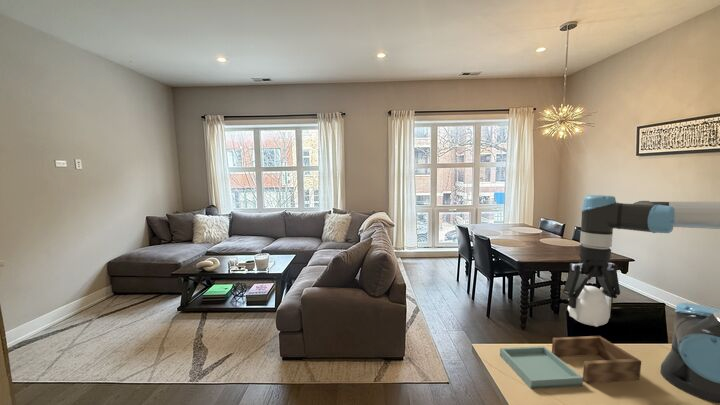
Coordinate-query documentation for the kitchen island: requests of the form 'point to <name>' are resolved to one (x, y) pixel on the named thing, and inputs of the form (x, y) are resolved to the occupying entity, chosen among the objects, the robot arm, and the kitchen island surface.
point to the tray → (540, 367)
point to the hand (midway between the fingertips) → (589, 316)
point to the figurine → (593, 306)
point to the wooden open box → (608, 370)
